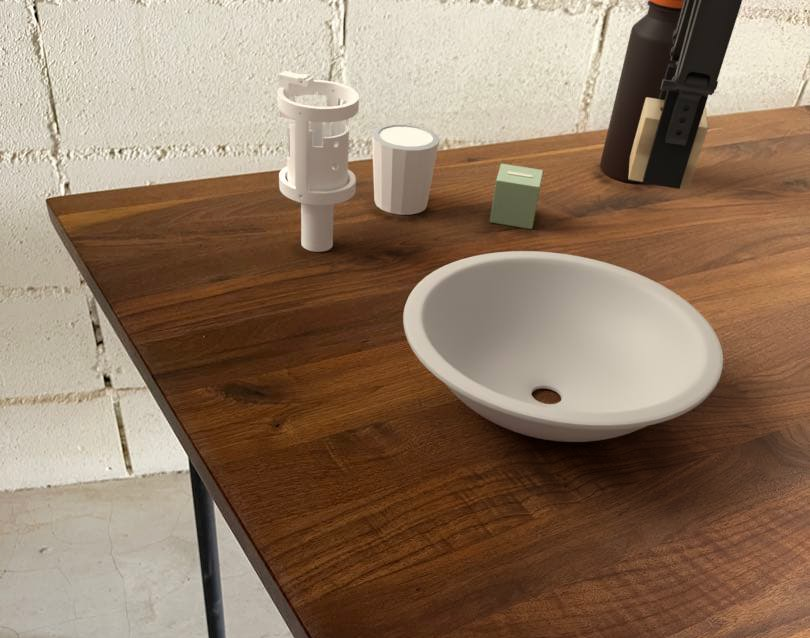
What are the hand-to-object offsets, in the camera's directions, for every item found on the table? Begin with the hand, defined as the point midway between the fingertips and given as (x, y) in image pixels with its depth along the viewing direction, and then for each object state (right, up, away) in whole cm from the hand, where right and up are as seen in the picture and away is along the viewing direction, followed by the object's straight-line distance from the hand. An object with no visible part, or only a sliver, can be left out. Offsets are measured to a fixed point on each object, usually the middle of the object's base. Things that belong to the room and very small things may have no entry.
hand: (661, 169), depth 67 cm
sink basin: (-8, -17, +4) cm, 19 cm away
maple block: (0, 0, 0) cm, 0 cm away
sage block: (-8, +6, +27) cm, 29 cm away
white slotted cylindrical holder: (-28, +1, +19) cm, 34 cm away
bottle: (+7, +15, +38) cm, 42 cm away
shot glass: (-20, +8, +27) cm, 35 cm away
